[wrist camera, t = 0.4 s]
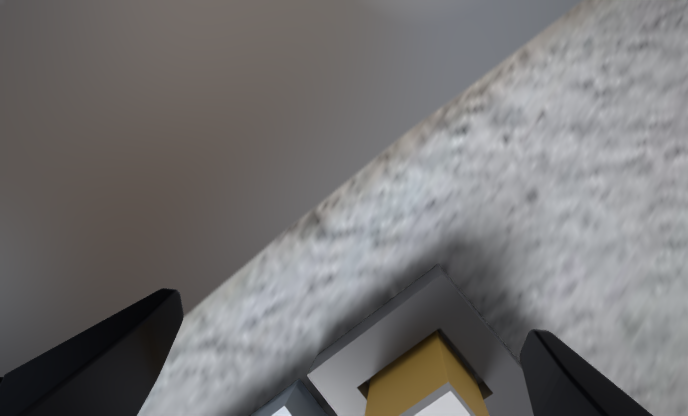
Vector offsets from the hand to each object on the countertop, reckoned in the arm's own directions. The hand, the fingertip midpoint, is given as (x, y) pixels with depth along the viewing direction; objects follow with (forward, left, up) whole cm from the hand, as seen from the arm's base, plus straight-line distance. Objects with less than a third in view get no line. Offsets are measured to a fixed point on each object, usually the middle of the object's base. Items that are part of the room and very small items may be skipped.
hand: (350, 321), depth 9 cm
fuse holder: (-8, +3, -13) cm, 16 cm away
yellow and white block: (-8, +3, -12) cm, 15 cm away
